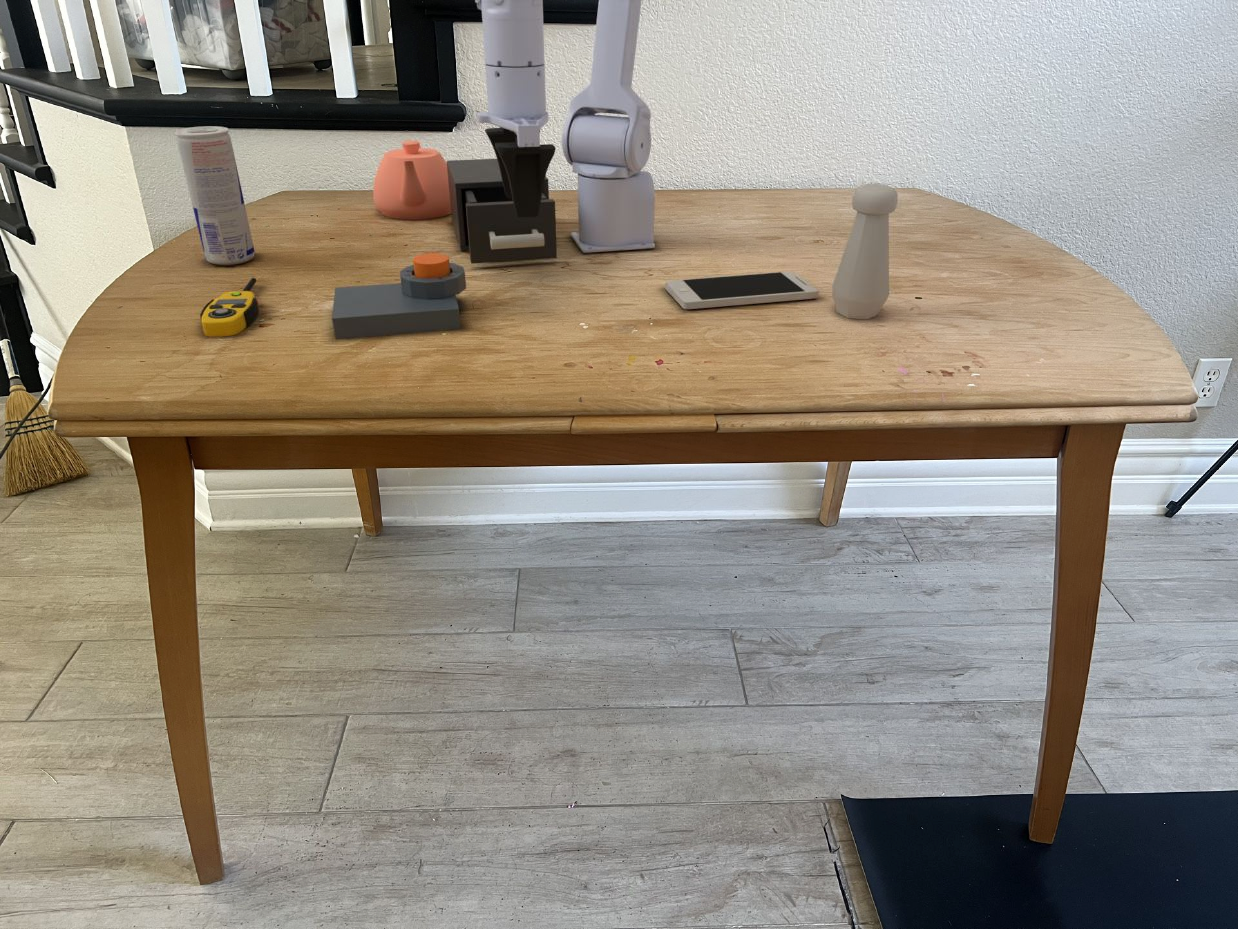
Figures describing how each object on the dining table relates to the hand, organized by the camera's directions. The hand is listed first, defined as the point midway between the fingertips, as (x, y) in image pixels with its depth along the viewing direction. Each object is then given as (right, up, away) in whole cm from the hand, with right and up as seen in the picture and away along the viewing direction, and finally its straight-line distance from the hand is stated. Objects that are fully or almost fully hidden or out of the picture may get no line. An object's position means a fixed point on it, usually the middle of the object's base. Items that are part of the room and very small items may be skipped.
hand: (521, 206), depth 90 cm
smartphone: (+24, -8, +5) cm, 26 cm away
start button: (-9, -7, -1) cm, 12 cm away
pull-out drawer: (-3, -1, +15) cm, 16 cm away
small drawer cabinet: (-6, +4, +24) cm, 25 cm away
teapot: (-19, +9, +34) cm, 40 cm away
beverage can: (-37, -2, +14) cm, 40 cm away
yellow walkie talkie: (-29, -11, 0) cm, 31 cm away
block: (-12, -12, -2) cm, 17 cm away
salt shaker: (+35, -11, +1) cm, 37 cm away
